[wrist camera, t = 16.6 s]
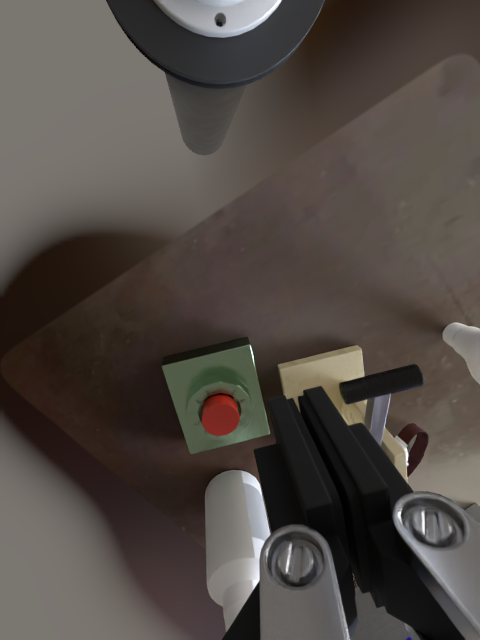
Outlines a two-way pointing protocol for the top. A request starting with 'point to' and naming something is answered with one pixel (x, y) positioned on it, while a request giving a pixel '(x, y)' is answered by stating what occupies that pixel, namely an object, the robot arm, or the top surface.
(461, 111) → the top surface
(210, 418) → the button
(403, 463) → the bracket
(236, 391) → the button block
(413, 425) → the watch
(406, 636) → the house
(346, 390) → the lever
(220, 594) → the spray bottle
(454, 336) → the lightbulb
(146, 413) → the top surface
